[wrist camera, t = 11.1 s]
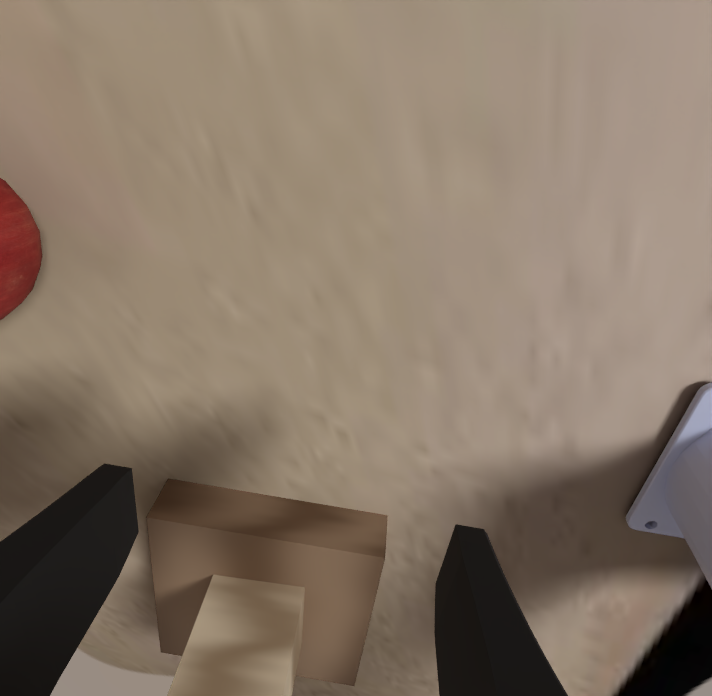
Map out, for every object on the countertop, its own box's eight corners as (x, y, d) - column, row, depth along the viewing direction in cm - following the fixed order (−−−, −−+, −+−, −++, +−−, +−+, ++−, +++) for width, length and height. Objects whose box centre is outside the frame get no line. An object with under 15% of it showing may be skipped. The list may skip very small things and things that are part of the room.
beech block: (304, 587, 26) (276, 725, 20) (301, 641, 28) (276, 778, 23) (213, 574, 26) (162, 708, 21) (218, 629, 28) (173, 762, 23)
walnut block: (387, 507, 26) (385, 557, 24) (359, 634, 32) (354, 685, 30) (172, 471, 27) (146, 517, 24) (181, 603, 32) (160, 652, 30)
